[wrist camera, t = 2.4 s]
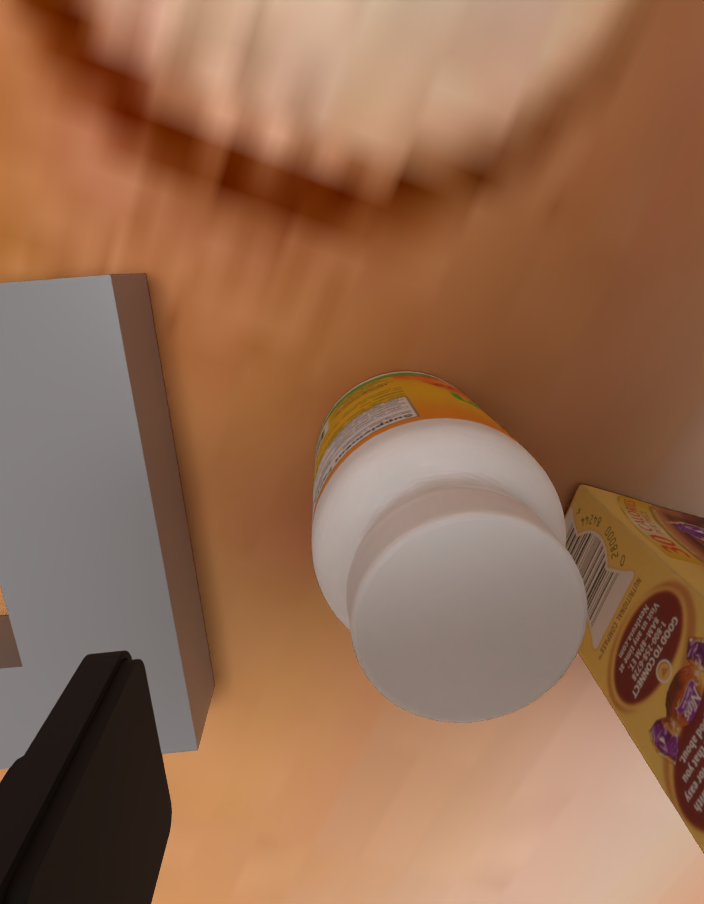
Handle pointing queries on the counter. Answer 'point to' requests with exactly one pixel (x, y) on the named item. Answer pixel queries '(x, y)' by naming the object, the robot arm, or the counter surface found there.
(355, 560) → the supplement bottle
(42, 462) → the frame
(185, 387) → the counter surface
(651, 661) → the candy box
